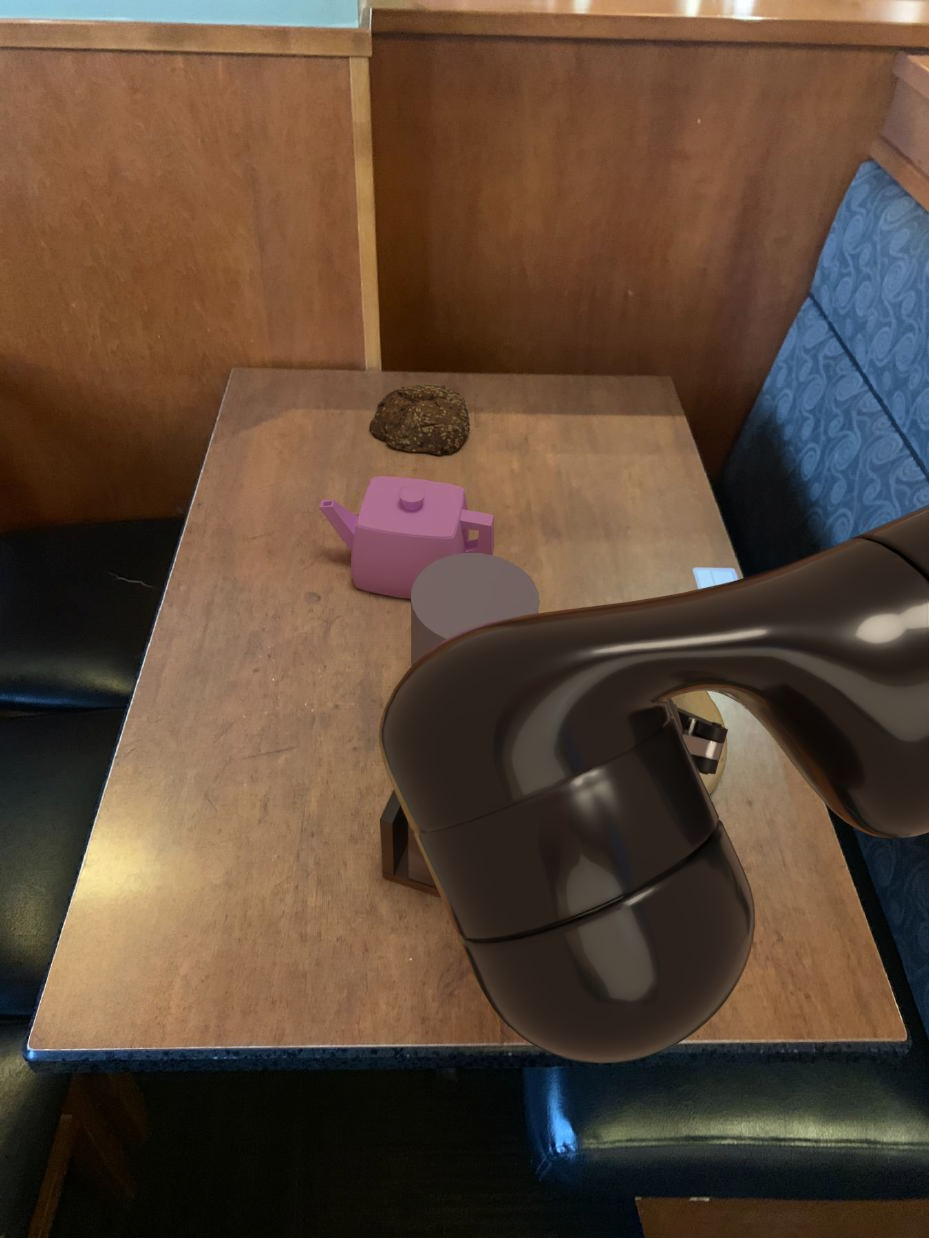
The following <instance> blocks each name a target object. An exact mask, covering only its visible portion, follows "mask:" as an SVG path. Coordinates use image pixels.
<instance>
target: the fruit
mask: <svg viewBox="0 0 929 1238" xmlns="http://www.w3.org/2000/svg"><path fill="white" fill-rule="evenodd" d="M671 699H672V701H673V703H674V704H676V705H677V706H676V707H678V708H681V709H683V710H685V711H687V712H690V713H692V714H694V715H697V716H699V717H701V718H704V719H706V720H708V721H710V722H716V723H719V724H722V727H724V728H726V726H725V723H724V718H723V716H722V713H721V712H720V710H719V707H718V706H717V704H716V702H715V701H714V700H713V698H712V697H711V695H710V693H709V691H695V692H689V693H685V694H681V695H677V696H674V697H672V698H671ZM727 735H728V734H727ZM727 735H726V739H725V742H724V746H723V749H722V753H721V756H720V760H719V763H718V767H717V770H716V774H709V773H708V775H705V774H702V773H699V774H700V776H701V778H702V780H703V783H704V785H705V787H706V789H707V791H708V794H709V796H710V795H711V793H712V792H713V791H714V790H715V788H716V787H717V785H718V784H719V782H720V780H721V778H722V776H723V774H724V771H725V768H726V764H727V759H728V737H727Z"/></svg>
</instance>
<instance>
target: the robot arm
mask: <svg viewBox="0 0 929 1238" xmlns="http://www.w3.org/2000/svg"><path fill="white" fill-rule="evenodd" d="M695 691H707V692H713V693H717V694H720V695H723V696H725V697H727V698H729V699H732V700H733V701H735V702H736V703H738V704H739V705H741V706H742V707H743V708H744V709H745V710H747V711H748V712H749V713H750V714H751V715H752V716H753V717H754V718H755V719H756V720H757V721H758V722H759V723H760V724H761V725H762V727H764V729H765V730H766V731H767V732H768V733H769V735H770V736H771V738H772V739H773V740H774V741H775V742H776V744H777V745H778V746H779V748H780V749H781V750H782V752H783V753H784V754H785V757H787V759H788V760H789V761H790V763H791V764H792V765H793V767H794V768H795V769H796V771H797V772H798V773H799V775H800V776H801V777H802V779H803V780H804V781H805V783H807V784H808V786H809V787H810V788H811V789H812V791H814V793H815V794H816V795H817V797H819V799H821V801H822V802H823V803H824V804H825V806H827V807H828V808H829V809H830V810H831V811H832V812H833V813H834V814H836V815H837V816H838V817H839V818H840V819H842V820H843V821H844V822H845V823H847V825H848V824H849V826H852V827H853V828H855V829H857V830H859V831H861V832H862V833H865V834H867V835H869V836H873V837H877V838H882V839H905V838H911V837H912V838H913V837H918V836H920V835H924V834H927V833H929V503H927V504H926V505H922V506H921V507H918V508H916V509H914V510H912V511H910V512H907V513H905V514H902V515H900V516H899V517H895V518H894V519H891V520H889V521H887V522H884V523H883V524H880V525H878V526H876V527H874V528H871V529H868V530H867V531H864V532H862V533H860V534H858V535H855V536H853V537H851V538H850V539H846V540H843V541H842V542H839V543H837V544H835V545H832V546H830V547H828V548H825V549H822V550H821V551H818V552H815V553H812V554H810V555H807V556H805V557H802V558H800V559H797V560H794V561H790V562H789V563H785V564H784V565H781V566H778V567H775V568H772V569H768V570H765V571H762V572H760V573H756V574H752V575H749V576H745V577H743V578H739V579H736V580H732V581H728V582H724V583H720V584H715V585H710V586H706V587H702V588H698V589H693V590H689V591H684V592H679V593H673V594H668V595H661V596H655V597H650V598H644V599H643V598H642V599H637V600H632V601H625V602H615V603H608V604H600V605H599V604H598V605H592V606H583V607H576V608H568V609H560V610H554V611H552V610H551V611H546V612H538V613H537V614H530V615H524V616H519V617H514V618H510V619H505V620H500V621H495V622H490V623H486V624H483V625H480V626H476V627H473V628H470V629H468V630H465V631H463V632H460V633H458V634H456V635H454V636H452V637H450V638H448V639H446V640H444V641H442V642H441V643H439V644H438V645H436V646H435V647H433V648H432V649H430V650H429V651H428V652H427V653H425V654H424V655H423V656H422V657H421V658H419V659H418V660H417V661H416V662H415V663H414V664H413V665H412V666H411V665H410V667H409V669H408V670H407V671H406V672H405V674H404V675H403V676H402V678H401V679H400V680H399V682H398V683H397V684H396V686H395V687H394V689H393V690H392V692H391V694H390V697H389V699H388V700H387V703H386V705H385V706H384V708H383V711H382V714H381V718H380V724H379V733H378V740H379V742H378V743H379V750H380V754H381V756H382V759H383V764H384V767H385V771H386V773H387V776H388V778H389V781H390V782H391V786H392V788H393V790H395V793H396V795H397V798H398V800H399V802H400V804H401V807H402V809H403V811H404V814H405V816H406V818H407V820H408V823H409V825H410V827H411V829H412V830H413V831H414V836H415V839H416V841H417V843H418V845H419V848H420V850H421V852H422V855H423V857H424V859H425V861H426V864H427V866H428V868H429V871H430V873H431V875H432V877H433V880H434V882H435V884H436V887H437V889H438V891H439V893H440V896H441V897H440V898H441V900H442V903H443V905H444V907H445V909H446V912H447V914H448V916H449V918H450V921H451V923H452V926H453V927H454V930H455V932H456V933H457V937H458V941H459V943H460V946H461V948H462V951H463V953H464V955H465V957H466V960H467V962H468V965H469V966H470V967H469V968H470V969H471V972H472V973H473V976H474V978H475V980H476V983H477V984H478V986H479V988H480V990H481V992H482V993H483V995H484V997H485V999H486V1000H487V1002H488V1004H489V1005H490V1006H491V1008H492V1009H493V1010H494V1012H495V1013H496V1014H497V1016H498V1017H499V1018H500V1019H501V1020H502V1021H503V1023H504V1024H505V1025H506V1026H507V1027H508V1028H509V1029H511V1030H512V1031H513V1032H514V1033H515V1034H517V1035H518V1036H519V1037H520V1038H522V1039H523V1040H525V1041H526V1042H527V1043H528V1044H531V1045H532V1046H534V1047H536V1048H538V1049H540V1050H542V1051H544V1052H546V1053H549V1054H551V1055H554V1056H556V1057H559V1058H562V1059H566V1060H570V1061H573V1062H580V1063H586V1064H587V1063H588V1064H621V1063H627V1062H632V1061H638V1060H641V1059H645V1058H647V1057H650V1056H654V1055H657V1054H659V1053H661V1052H664V1051H666V1050H668V1049H671V1048H673V1047H674V1046H676V1045H678V1044H680V1043H682V1042H683V1041H685V1040H686V1039H687V1038H689V1037H690V1036H692V1035H693V1034H695V1033H696V1032H697V1031H698V1030H700V1029H701V1028H702V1027H703V1026H705V1025H706V1024H707V1023H708V1022H709V1021H710V1020H711V1019H712V1018H713V1017H714V1016H715V1015H716V1014H717V1013H718V1011H719V1010H720V1009H721V1008H722V1006H723V1005H725V1003H726V1002H727V1001H728V999H729V998H730V996H731V994H732V993H733V992H734V990H735V988H736V987H737V985H738V983H739V981H740V979H741V978H742V976H743V973H744V971H745V969H746V966H747V964H748V961H749V958H750V955H751V952H752V948H753V945H754V944H753V943H754V939H755V930H756V909H755V907H756V906H755V900H754V896H753V891H752V887H751V884H750V882H749V879H748V877H747V874H746V872H745V868H744V866H743V865H742V861H741V860H740V857H739V856H738V853H737V851H736V849H735V847H734V845H733V842H732V840H731V837H730V836H729V833H728V832H727V830H726V827H725V826H724V825H725V824H724V823H723V821H722V820H721V819H720V816H719V815H720V814H719V813H718V812H717V809H716V806H715V805H714V802H713V799H712V798H711V796H710V795H709V794H708V791H707V789H706V787H705V785H704V783H703V780H702V778H701V776H700V774H699V773H702V774H705V775H708V773H709V774H716V770H717V767H718V763H719V760H720V756H721V753H722V749H723V746H724V742H725V739H726V735H728V732H729V729H728V728H726V727H725V728H724V727H722V724H719V723H716V722H710V721H708V720H706V719H704V718H701V717H699V716H697V715H694V714H692V713H690V712H687V711H685V710H683V709H681V708H678V707H676V706H677V705H676V704H674V703H673V701H672V699H671V698H672V697H674V696H677V695H681V694H685V693H689V692H695Z"/></svg>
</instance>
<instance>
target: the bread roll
mask: <svg viewBox="0 0 929 1238" xmlns="http://www.w3.org/2000/svg"><path fill="white" fill-rule="evenodd" d="M470 427H471V422H470V416H469V410H468V408H467V405H466V400H465V398H464V397H462V396H461V394H460V393H459V391H457V390H456V391H455V390H453V389H452V388H450V387H446V386H445V385H440V384H435V383H432V384H415V385H409V386H402V387H400V388H397V389H393V390H391V391H390V392H388V393H387V394H386V395H385V396H384V397H382V399H380V401H379V403H378V404H377V406H376V412H374V417H373V418H372V419H371V420H370V422H369V425H368V428H369V430H370V433H371V434H372V435H374V437H376V438H377V439H378V440H380V441H386V443H387V444H388V446H390V447H391V448H393V449H396V450H401V451H404V452H408V453H409V452H410V453H429V454H433V455H435V456H444V455H449V454H452V453H454V452H457V451H458V450H459V449H460V448H461V447H462V446H463V444H464V442H465V441H466V439H467V438H468V436H469V434H470V431H471V428H470Z"/></svg>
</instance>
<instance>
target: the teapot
mask: <svg viewBox="0 0 929 1238" xmlns="http://www.w3.org/2000/svg"><path fill="white" fill-rule="evenodd" d="M468 508H469V507H468V501H467V496H466V492H465V488H463V487H462V486H460V485H456V484H451V483H447V482H442V481H436V480H435V481H434V480H428V479H421V478H414V477H413V478H412V477H401V476H389V475H387V476H385V475H384V476H383V475H382V476H373V477H372V478H371V479H370V481H369V483H368V486H367V489H366V491H365V494H364V497H363V500H362V503H361V505H360V509H359V511H358V515H357V514H355V513H353V512H352V511H350V510H349V509H347V507H344V506H343V505H342V504H340V503H339V502H337V501H336V499H323V500H321V501H320V504H319V507H318V509H319V510H320V512H321V514H323V516H324V517H325V518H326V519H327V521H328V522H329V524H330V525H331V526H332V528H333V529H334V530H335V532H336V534H338V536H339V537H340V539H341V540H342V541H343V542H344V544H345V546H346V547H347V548H348V549H349V551H350V552H351V556H350V557H351V558H350V570H351V571H350V572H351V573H350V574H351V578H352V581H353V584H354V585H355V587H356V588H357V589H359V590H361V591H365V592H370V593H374V594H378V595H382V596H383V595H384V596H388V597H394V598H401V599H408V600H411V590H412V587H413V584H414V581H415V580H416V578H417V577H418V575H419V574H420V573H421V572H422V571H423V570H424V569H425V568H426V567H427V566H429V565H430V564H432V563H433V562H435V561H437V560H439V559H442V558H444V557H447V556H451V555H455V554H462V553H482V554H489V555H493V556H494V550H495V530H494V529H495V522H494V519H495V517H494V514H491V513H487V512H480V511H475V510H469V509H468ZM470 531H478V534H477V535H478V537H477V538H476V539H471V540H469V539H470Z"/></svg>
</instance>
